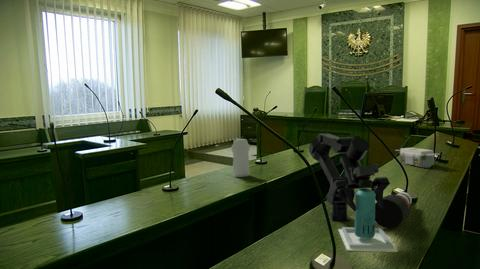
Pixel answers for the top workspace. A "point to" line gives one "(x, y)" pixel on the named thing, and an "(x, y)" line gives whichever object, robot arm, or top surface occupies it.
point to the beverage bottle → (365, 210)
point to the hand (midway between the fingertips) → (368, 209)
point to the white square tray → (366, 241)
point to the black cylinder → (393, 210)
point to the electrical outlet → (417, 157)
